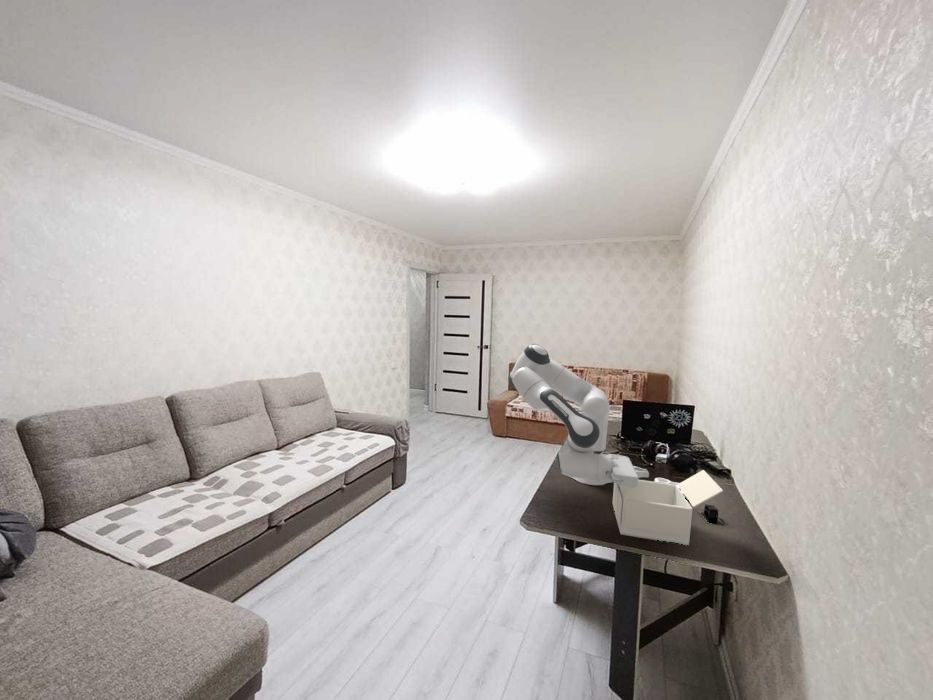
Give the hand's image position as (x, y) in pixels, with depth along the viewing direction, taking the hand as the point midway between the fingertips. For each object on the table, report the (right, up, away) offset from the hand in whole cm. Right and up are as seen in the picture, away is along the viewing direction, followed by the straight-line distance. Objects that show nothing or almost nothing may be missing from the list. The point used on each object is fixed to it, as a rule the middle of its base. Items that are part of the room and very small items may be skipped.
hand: (648, 473), depth 132 cm
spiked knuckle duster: (+22, -18, +28) cm, 40 cm away
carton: (+1, -18, +1) cm, 18 cm away
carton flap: (+15, -3, -4) cm, 16 cm away
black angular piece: (+27, -20, +9) cm, 34 cm away
